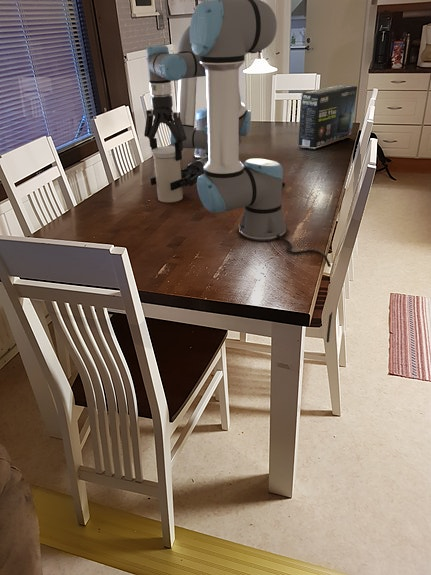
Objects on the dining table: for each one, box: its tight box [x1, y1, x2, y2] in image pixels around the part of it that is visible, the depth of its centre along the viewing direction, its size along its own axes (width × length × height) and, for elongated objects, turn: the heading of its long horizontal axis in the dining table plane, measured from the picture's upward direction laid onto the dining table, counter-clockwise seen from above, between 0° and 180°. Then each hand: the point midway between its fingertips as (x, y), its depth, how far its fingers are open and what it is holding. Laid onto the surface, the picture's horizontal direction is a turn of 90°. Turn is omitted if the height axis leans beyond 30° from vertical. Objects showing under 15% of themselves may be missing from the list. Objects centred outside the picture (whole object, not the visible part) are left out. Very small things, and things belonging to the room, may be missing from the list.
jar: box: [153, 157, 184, 203], centre depth 176 cm, size 10×10×18 cm
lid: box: [151, 145, 176, 158], centre depth 171 cm, size 11×11×2 cm
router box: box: [297, 84, 358, 151], centre depth 238 cm, size 36×11×27 cm, turn 134°
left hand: (161, 184), depth 174 cm, fingers closed on jar, 10 cm apart
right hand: (166, 158), depth 173 cm, fingers closed on lid, 11 cm apart
